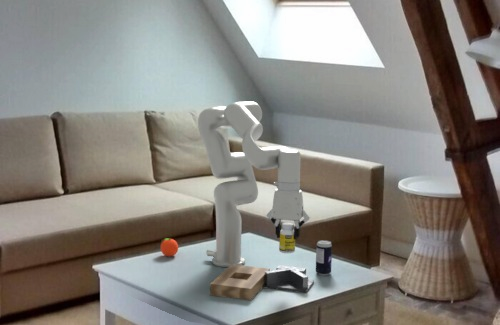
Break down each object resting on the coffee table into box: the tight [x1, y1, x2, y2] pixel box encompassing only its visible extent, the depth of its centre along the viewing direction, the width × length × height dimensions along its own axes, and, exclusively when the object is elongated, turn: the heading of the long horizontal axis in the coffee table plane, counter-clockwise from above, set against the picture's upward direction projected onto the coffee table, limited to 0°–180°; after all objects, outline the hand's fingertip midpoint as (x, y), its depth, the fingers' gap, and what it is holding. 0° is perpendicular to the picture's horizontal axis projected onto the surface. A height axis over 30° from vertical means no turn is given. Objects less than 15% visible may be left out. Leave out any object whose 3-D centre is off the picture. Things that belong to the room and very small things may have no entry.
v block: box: [261, 264, 315, 294], centre depth 261 cm, size 16×11×5 cm
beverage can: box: [315, 239, 333, 276], centre depth 273 cm, size 6×6×12 cm
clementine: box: [160, 238, 179, 257], centre depth 292 cm, size 8×7×7 cm
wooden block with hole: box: [209, 264, 271, 301], centre depth 258 cm, size 14×22×4 cm, turn 162°
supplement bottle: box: [278, 222, 296, 254], centre depth 255 cm, size 5×5×10 cm
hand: (287, 237), depth 256 cm, fingers closed on supplement bottle, 5 cm apart
